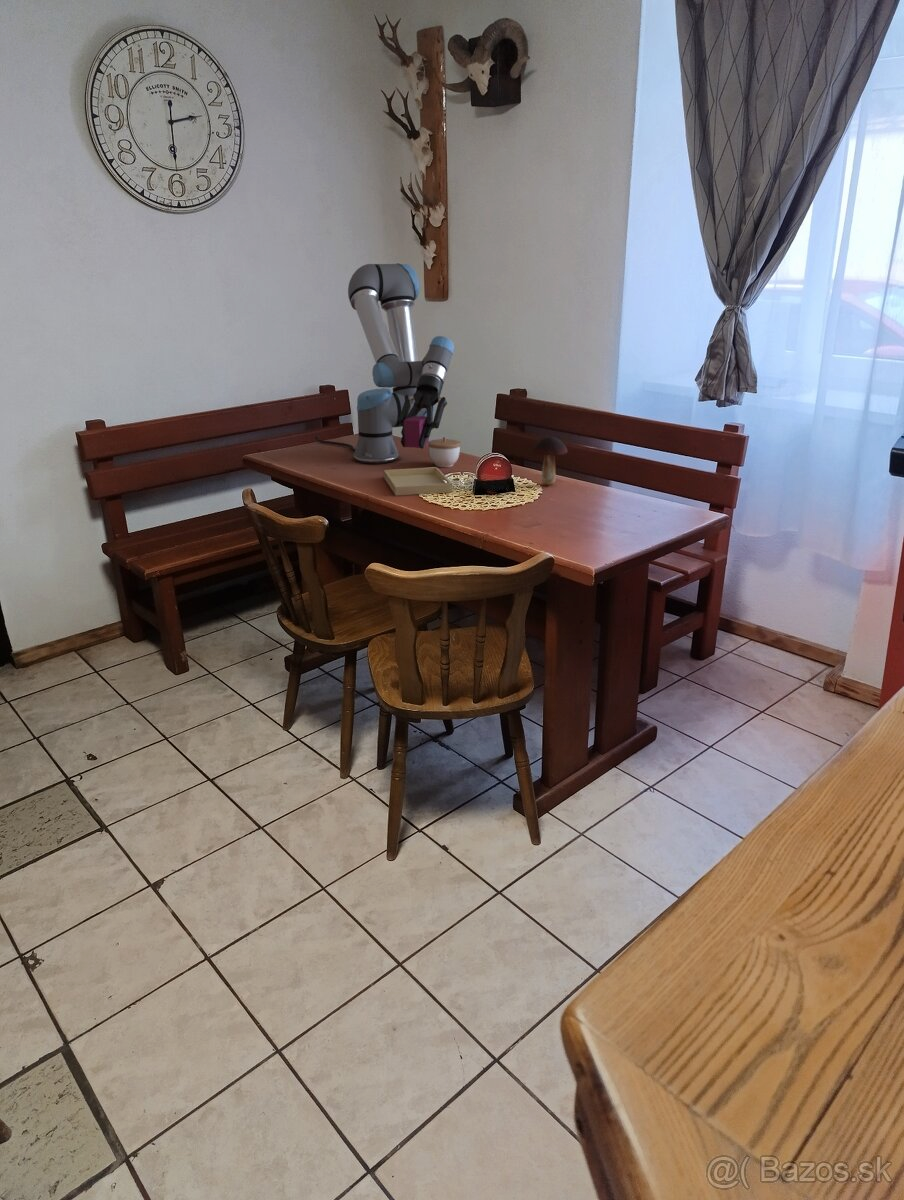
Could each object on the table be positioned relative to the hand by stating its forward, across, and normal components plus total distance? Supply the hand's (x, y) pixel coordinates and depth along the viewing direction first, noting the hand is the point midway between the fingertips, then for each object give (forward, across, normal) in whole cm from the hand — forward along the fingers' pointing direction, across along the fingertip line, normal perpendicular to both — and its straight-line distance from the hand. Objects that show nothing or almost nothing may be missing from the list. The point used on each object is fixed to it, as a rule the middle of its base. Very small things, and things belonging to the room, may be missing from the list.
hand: (411, 445), depth 242 cm
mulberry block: (-2, 0, +3) cm, 4 cm away
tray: (+6, 0, +12) cm, 14 cm away
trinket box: (-13, -1, +31) cm, 33 cm away
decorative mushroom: (-3, +38, +22) cm, 44 cm away
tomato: (+6, +24, +13) cm, 28 cm away
